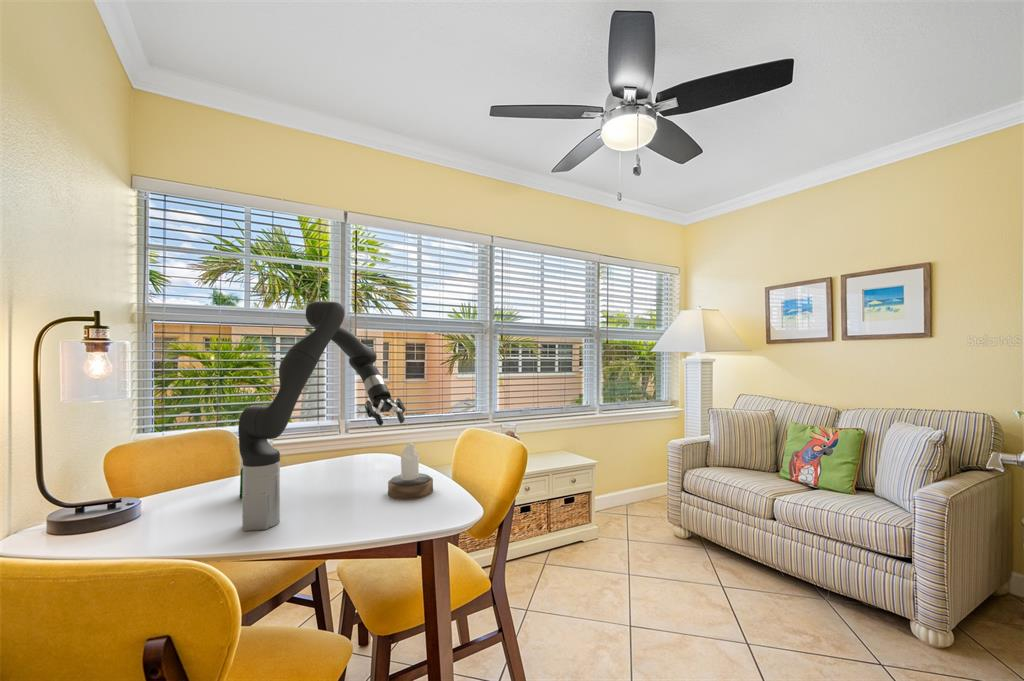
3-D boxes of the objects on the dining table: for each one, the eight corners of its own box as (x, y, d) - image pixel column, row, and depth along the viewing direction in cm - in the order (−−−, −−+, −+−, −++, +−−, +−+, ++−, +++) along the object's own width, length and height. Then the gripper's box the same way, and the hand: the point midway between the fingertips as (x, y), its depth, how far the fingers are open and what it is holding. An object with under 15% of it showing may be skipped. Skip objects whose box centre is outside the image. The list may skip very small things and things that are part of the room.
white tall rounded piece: (402, 445, 153) (399, 442, 158) (402, 481, 153) (399, 477, 158) (420, 443, 156) (416, 440, 161) (420, 479, 155) (416, 475, 160)
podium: (432, 497, 150) (432, 483, 150) (386, 500, 148) (386, 485, 148) (432, 484, 165) (432, 471, 165) (390, 487, 163) (390, 473, 163)
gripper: (362, 383, 167) (378, 418, 158) (397, 382, 177) (413, 414, 168) (355, 397, 170) (370, 432, 162) (390, 395, 180) (405, 427, 172)
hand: (392, 423), depth 165 cm, fingers open, 8 cm apart
